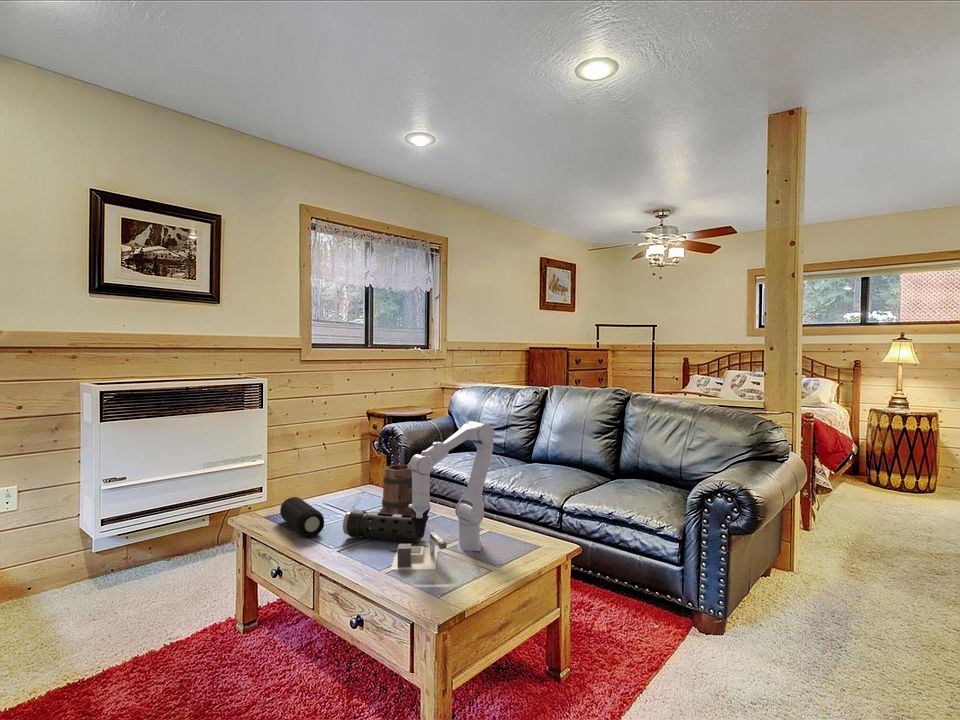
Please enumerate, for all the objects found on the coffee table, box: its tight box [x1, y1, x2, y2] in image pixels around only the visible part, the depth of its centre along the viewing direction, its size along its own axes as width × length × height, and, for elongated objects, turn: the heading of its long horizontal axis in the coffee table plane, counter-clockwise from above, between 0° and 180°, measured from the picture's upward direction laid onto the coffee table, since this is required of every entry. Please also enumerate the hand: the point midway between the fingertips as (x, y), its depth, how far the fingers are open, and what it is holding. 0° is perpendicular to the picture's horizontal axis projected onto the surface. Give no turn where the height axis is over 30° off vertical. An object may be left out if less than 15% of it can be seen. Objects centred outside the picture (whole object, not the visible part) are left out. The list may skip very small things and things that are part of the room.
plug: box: [389, 543, 412, 567], centre depth 167 cm, size 4×7×6 cm, turn 93°
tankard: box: [379, 464, 416, 515], centre depth 216 cm, size 24×17×20 cm
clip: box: [429, 531, 448, 556], centre depth 169 cm, size 2×12×8 cm, turn 24°
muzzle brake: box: [342, 509, 423, 544], centre depth 189 cm, size 10×28×10 cm, turn 78°
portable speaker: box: [279, 496, 325, 538], centre depth 201 cm, size 26×10×10 cm, turn 38°
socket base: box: [390, 545, 439, 571], centre depth 173 cm, size 18×14×3 cm
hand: (421, 532), depth 171 cm, fingers open, 7 cm apart
